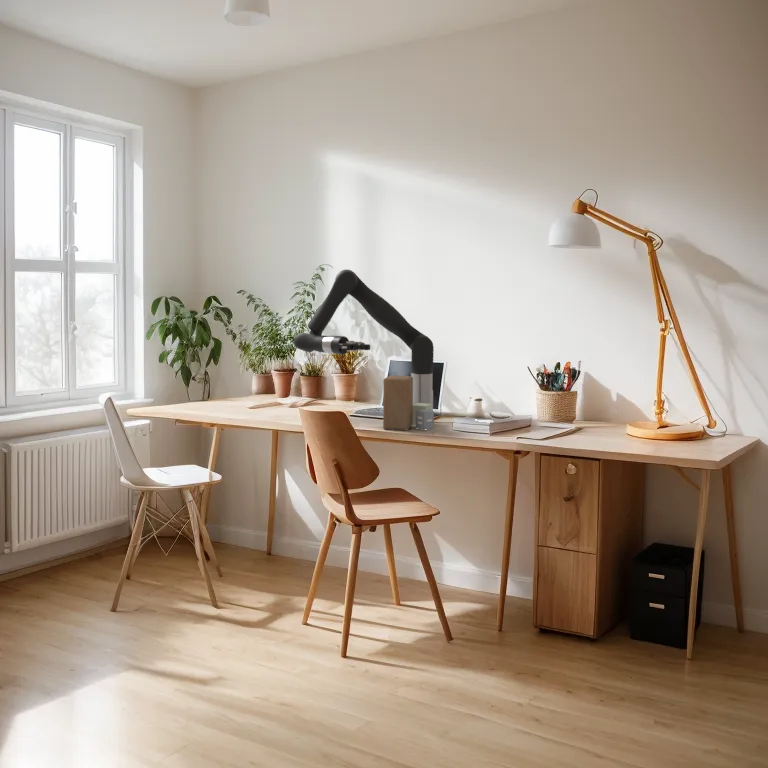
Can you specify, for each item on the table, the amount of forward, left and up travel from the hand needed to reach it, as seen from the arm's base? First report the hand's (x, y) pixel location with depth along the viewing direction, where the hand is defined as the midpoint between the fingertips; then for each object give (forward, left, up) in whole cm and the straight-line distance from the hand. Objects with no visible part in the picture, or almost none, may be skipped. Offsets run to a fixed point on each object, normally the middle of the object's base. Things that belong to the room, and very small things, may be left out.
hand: (369, 347), depth 341 cm
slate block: (0, +27, -30) cm, 40 cm away
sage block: (-7, +21, -30) cm, 37 cm away
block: (+5, +18, -30) cm, 35 cm away
